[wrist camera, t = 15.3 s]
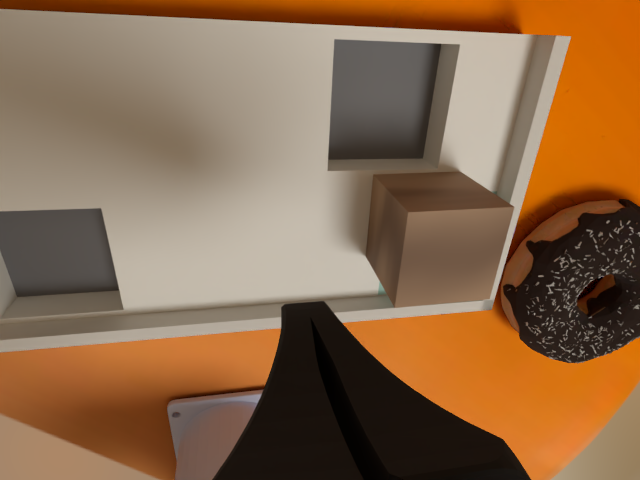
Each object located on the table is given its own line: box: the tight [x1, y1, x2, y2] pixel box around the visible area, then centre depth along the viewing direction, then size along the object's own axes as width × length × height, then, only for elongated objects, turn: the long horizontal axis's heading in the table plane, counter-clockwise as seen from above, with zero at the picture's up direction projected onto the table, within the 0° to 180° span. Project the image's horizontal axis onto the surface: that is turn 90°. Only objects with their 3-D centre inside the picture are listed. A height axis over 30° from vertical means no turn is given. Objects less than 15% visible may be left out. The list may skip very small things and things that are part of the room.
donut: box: [501, 199, 640, 363], centre depth 26 cm, size 11×12×4 cm
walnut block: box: [366, 172, 514, 308], centre depth 19 cm, size 4×4×4 cm
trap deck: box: [0, 9, 571, 352], centre depth 19 cm, size 14×26×3 cm, turn 87°
